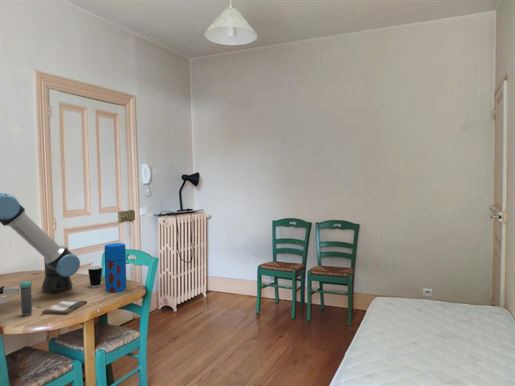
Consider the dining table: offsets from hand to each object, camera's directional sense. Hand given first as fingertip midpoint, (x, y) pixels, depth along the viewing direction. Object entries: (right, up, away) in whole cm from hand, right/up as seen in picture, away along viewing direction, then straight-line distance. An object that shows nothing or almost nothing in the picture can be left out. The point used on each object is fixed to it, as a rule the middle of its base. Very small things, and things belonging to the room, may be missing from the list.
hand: (13, 294), depth 172 cm
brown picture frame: (+18, -9, +10) cm, 23 cm away
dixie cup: (+17, -8, +47) cm, 50 cm away
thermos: (+31, -8, +39) cm, 51 cm away
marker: (+5, -10, +2) cm, 11 cm away
